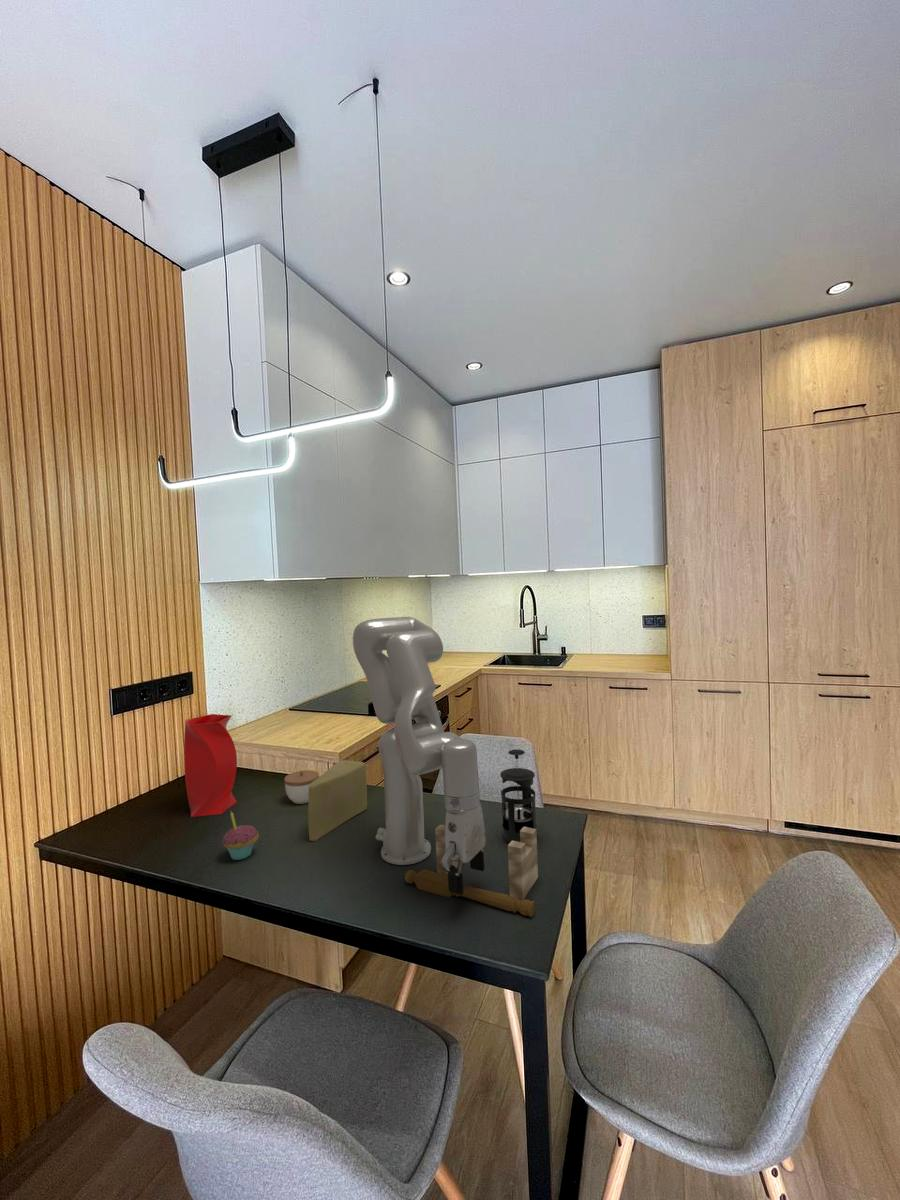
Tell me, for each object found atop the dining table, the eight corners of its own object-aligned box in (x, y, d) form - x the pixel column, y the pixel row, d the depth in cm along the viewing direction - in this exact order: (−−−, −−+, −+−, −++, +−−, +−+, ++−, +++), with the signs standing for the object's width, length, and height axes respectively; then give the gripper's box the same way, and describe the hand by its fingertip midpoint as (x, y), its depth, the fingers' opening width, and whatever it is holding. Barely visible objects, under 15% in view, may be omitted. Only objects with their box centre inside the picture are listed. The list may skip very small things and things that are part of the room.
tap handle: (530, 906, 100) (402, 872, 114) (531, 921, 100) (402, 885, 114) (535, 897, 103) (409, 865, 117) (535, 912, 103) (409, 878, 117)
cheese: (326, 844, 133) (324, 788, 133) (296, 839, 137) (293, 784, 137) (368, 809, 154) (366, 760, 154) (341, 805, 158) (339, 758, 157)
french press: (527, 851, 126) (524, 759, 125) (494, 842, 131) (490, 754, 131) (545, 831, 136) (542, 746, 135) (514, 823, 141) (511, 741, 140)
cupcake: (224, 867, 124) (221, 818, 124) (222, 852, 132) (219, 806, 131) (261, 857, 128) (259, 810, 128) (257, 843, 136) (255, 798, 135)
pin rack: (437, 875, 117) (435, 828, 116) (456, 856, 125) (454, 812, 125) (523, 900, 106) (521, 848, 106) (538, 877, 115) (536, 829, 114)
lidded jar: (314, 806, 158) (313, 776, 158) (280, 807, 158) (279, 777, 158) (323, 792, 168) (322, 764, 168) (291, 793, 169) (290, 765, 168)
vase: (244, 804, 162) (240, 716, 161) (201, 822, 149) (197, 728, 149) (216, 795, 170) (212, 712, 169) (173, 812, 158) (169, 722, 157)
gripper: (458, 818, 98) (463, 907, 98) (495, 787, 113) (499, 864, 113) (425, 812, 102) (430, 898, 102) (465, 783, 117) (470, 858, 117)
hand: (467, 880), depth 107 cm, fingers open, 9 cm apart
